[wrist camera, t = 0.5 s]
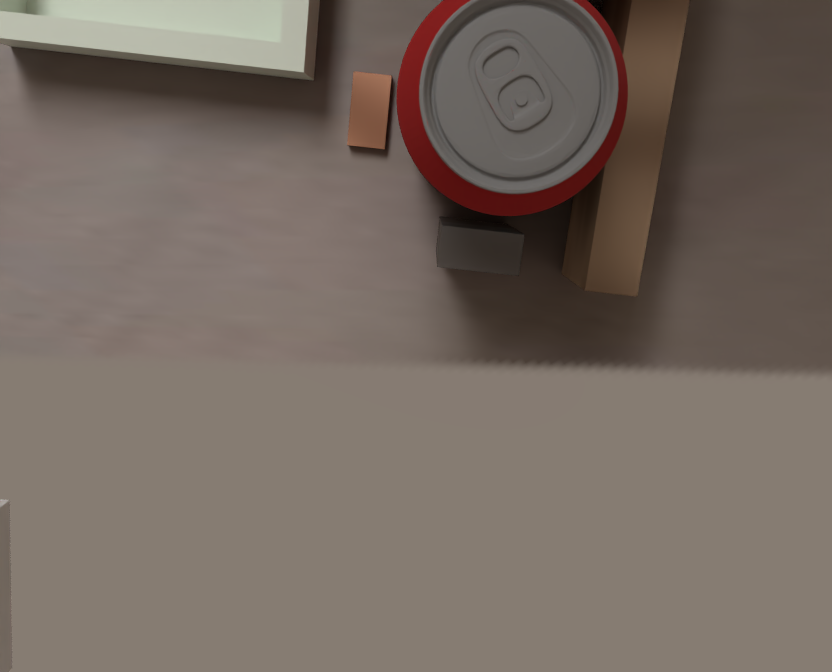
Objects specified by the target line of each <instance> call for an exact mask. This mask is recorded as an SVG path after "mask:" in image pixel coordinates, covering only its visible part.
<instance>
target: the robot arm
mask: <svg viewBox="0 0 832 672" xmlns="http://www.w3.org/2000/svg"><path fill="white" fill-rule="evenodd" d="M9 503H10V502H9V500H2V499H0V672H9V671H10V669H11V668H12V633H11V632H12V627H11V563H10V504H9Z"/></svg>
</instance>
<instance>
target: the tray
mask: <svg viewBox="0 0 832 672" xmlns="http://www.w3.org/2000/svg"><path fill="white" fill-rule="evenodd" d="M319 6H320V0H0V43H1V44H4V45H7V46H12V47H20V48H29V49H38V50H47V51H56V52H65V53H74V54H83V55H91V56H100V57H109V58H118V59H127V60H136V61H145V62H153V63H162V64H171V65H180V66H189V67H198V68H207V69H216V70H224V71H233V72H242V73H251V74H260V75H269V76H278V77H287V78H295V79H304V80H313V81H314V73H315V59H316V46H317V33H318V19H319Z"/></svg>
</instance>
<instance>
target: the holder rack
mask: <svg viewBox="0 0 832 672" xmlns="http://www.w3.org/2000/svg"><path fill="white" fill-rule="evenodd" d="M689 3H690V0H604V2H603V8H602V17H603V18H604V19H605V21H606V22H607V24H608V25H609V27H610V28H611V30H612V32H613V33H614V35H615V37H616V40H617V42H618V44H619V46H620V49H621V52H622V55H623V59H624V62H625V67H626V73H627V81H628V102H627V110H626V117H625V121H624V125H623V128H622V131H621V134H620V137H619V140H618V142H617V144H616V147H615V148H614V150H613V152H612V154H611V156H610V158H609V159H608V161H607V162H606V164H605V165H604V167H603V168H602V169H601V170H600V172H599V173H598V174H597V175H596V176H595V177H594V179H593V180H592V181H591V182H590V183H589V184H587V185H586V186H585V187H584V188H583V189H582V190H580V191H579V192H578V193H577V194H575V195H574V197H573V203H572V210H571V216H570V223H569V229H568V235H567V242H566V248H565V255H564V261H563V268H562V274H563V275H564V276H565V277H567V278H568V279H570V280H571V281H572V282H574V283H575V284H576V285H578V286H579V287H580V288H582V289H583V290H584V291H591V292H600V293H609V294H618V295H627V296H636V297H637V294H638V289H639V283H640V278H641V272H642V266H643V261H644V255H645V250H646V244H647V238H648V233H649V227H650V221H651V216H652V210H653V205H654V199H655V193H656V188H657V182H658V177H659V171H660V165H661V160H662V154H663V148H664V143H665V137H666V132H667V126H668V120H669V115H670V109H671V104H672V98H673V92H674V87H675V81H676V76H677V70H678V64H679V59H680V53H681V47H682V42H683V36H684V31H685V25H686V19H687V14H688V8H689ZM391 83H392V76H390V75H381V74H372V73H363V72H355V71H354V73H353V85H352V96H351V108H350V120H349V131H348V143H347V145H350V146H359V147H368V148H377V149H385V145H386V135H387V124H388V114H389V104H390V93H391ZM524 236H525V235H524V234H522V233H521V232H519V231H518V230H516V229H514V228H513V227H511V226H509V225H508V224H500V223H491V222H483V221H474V220H465V219H456V218H447V217H440V221H439V229H438V238H437V247H436V257H437V267H443V268H452V269H461V270H470V271H479V272H488V273H497V274H506V275H515V276H519V271H520V264H521V257H522V250H523V243H524Z"/></svg>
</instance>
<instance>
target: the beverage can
mask: <svg viewBox="0 0 832 672" xmlns="http://www.w3.org/2000/svg"><path fill="white" fill-rule="evenodd" d="M627 102H628V81H627V73H626V67H625V62H624V59H623V55H622V52H621V49H620V46H619V44H618V42H617V40H616V37H615V35H614V33H613V32H612V30H611V28H610V27H609V25H608V24H607V22H606V21H605V19H604V18H603V17H602V15H601V14H600V13H599V12H598V11H597V10H596V9H595V8H594V7H593V6H592V5H591V4H590V3H589V2H588V1H587V0H443V1H442V2H441V3H440V4H439V5H437V6H436V7H435V8H434V9H433V10H432V11H431V12H430V14H429V15H428V16H427V17H426V18H425V19H424V21H423V22H422V23H421V25H420V26H419V28H418V29H417V31H416V32H415V34H414V36H413V37H412V39H411V41H410V43H409V45H408V48H407V50H406V52H405V55H404V58H403V61H402V64H401V68H400V72H399V78H398V85H397V114H398V120H399V125H400V129H401V133H402V136H403V139H404V142H405V145H406V147H407V150H408V152H409V154H410V156H411V157H412V159H413V161H414V163H415V165H416V166H417V168H418V169H419V171H420V172H421V173H422V175H423V176H424V177H425V178H426V179H427V180H428V182H429V183H430V184H431V185H432V186H434V187H435V188H436V189H437V190H438V191H439V192H441V193H442V194H443V195H445V196H446V197H448V198H449V199H451V200H453V201H454V202H456V203H458V204H460V205H462V206H464V207H466V208H469V209H472V210H474V211H478V212H481V213H486V214H491V215H499V216H519V215H527V214H532V213H536V212H540V211H543V210H546V209H549V208H552V207H554V206H556V205H558V204H560V203H562V202H564V201H566V200H568V199H569V198H571V197H572V196H574V195H575V194H577V193H578V192H579V191H580V190H582V189H583V188H584V187H585V186H586V185H587V184H589V183H590V182H591V181H592V180H593V179H594V177H595V176H596V175H597V174H598V173H599V172H600V170H601V169H602V168H603V167H604V165H605V164H606V162H607V161H608V159H609V158H610V156H611V154H612V152H613V150H614V148H615V147H616V144H617V142H618V140H619V137H620V134H621V131H622V128H623V125H624V121H625V117H626V110H627Z"/></svg>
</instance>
